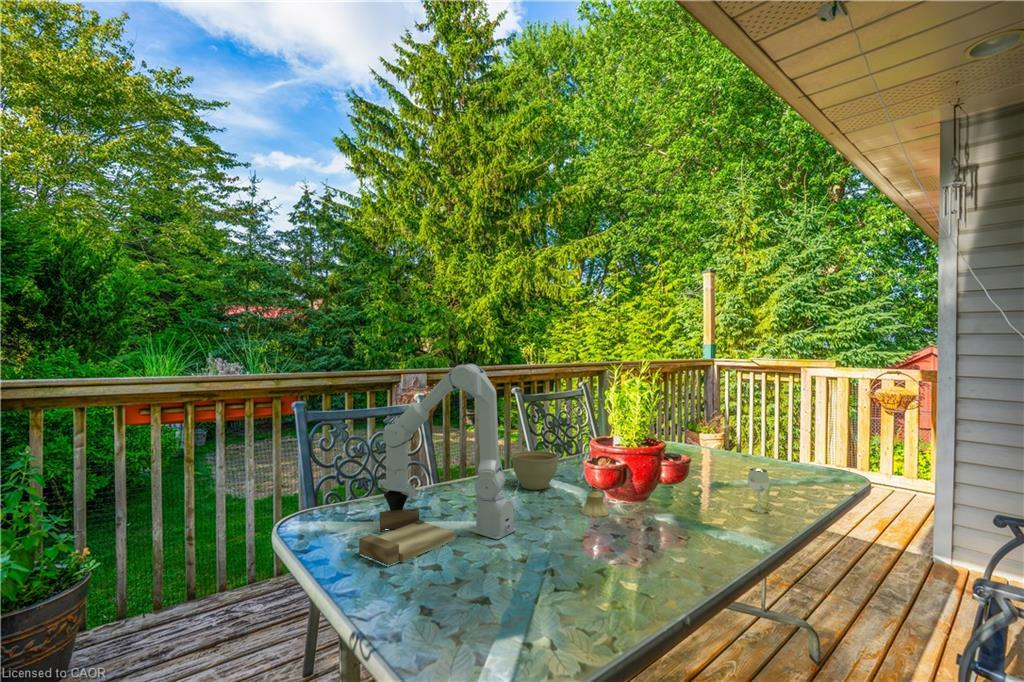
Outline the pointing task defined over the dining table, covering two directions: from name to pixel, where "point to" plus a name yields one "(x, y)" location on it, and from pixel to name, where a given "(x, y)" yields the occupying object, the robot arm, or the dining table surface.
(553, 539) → the dining table surface
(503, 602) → the dining table surface
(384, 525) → the folding leg
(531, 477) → the planter bowl
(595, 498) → the hand bell
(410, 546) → the stool top
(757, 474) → the wineglass
